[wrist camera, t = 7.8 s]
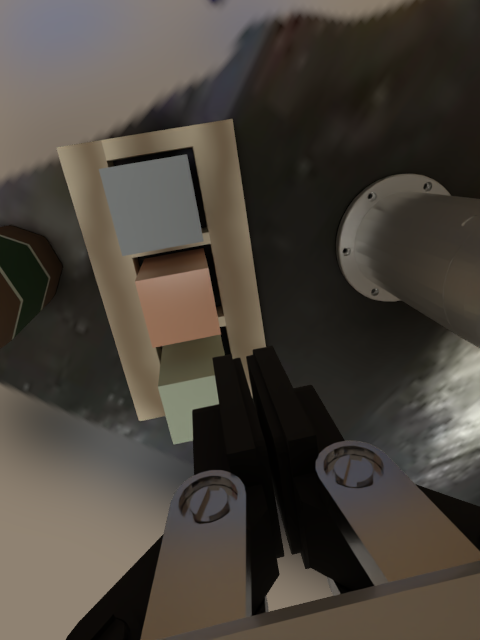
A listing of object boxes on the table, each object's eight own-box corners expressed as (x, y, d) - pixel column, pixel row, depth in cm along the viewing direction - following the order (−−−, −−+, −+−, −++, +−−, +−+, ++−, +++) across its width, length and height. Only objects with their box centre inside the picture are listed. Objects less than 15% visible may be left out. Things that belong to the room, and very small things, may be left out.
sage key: (220, 332, 39) (228, 372, 31) (229, 382, 41) (239, 430, 34) (162, 344, 38) (157, 386, 31) (175, 393, 41) (173, 444, 33)
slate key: (186, 156, 33) (186, 154, 25) (199, 225, 35) (203, 241, 28) (118, 168, 32) (98, 169, 25) (135, 236, 35) (122, 256, 27)
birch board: (228, 122, 35) (232, 118, 32) (267, 379, 45) (272, 393, 42) (66, 149, 34) (56, 147, 31) (142, 405, 44) (139, 421, 41)
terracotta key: (203, 247, 38) (208, 267, 30) (214, 303, 40) (221, 334, 32) (144, 258, 37) (134, 281, 30) (158, 313, 40) (152, 347, 32)
